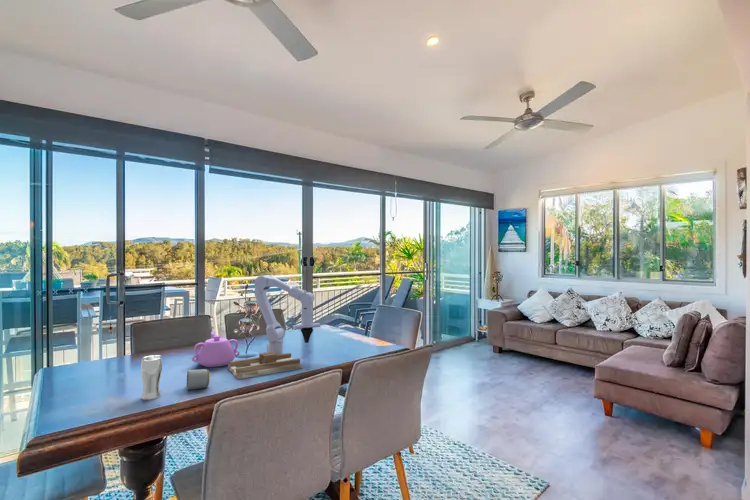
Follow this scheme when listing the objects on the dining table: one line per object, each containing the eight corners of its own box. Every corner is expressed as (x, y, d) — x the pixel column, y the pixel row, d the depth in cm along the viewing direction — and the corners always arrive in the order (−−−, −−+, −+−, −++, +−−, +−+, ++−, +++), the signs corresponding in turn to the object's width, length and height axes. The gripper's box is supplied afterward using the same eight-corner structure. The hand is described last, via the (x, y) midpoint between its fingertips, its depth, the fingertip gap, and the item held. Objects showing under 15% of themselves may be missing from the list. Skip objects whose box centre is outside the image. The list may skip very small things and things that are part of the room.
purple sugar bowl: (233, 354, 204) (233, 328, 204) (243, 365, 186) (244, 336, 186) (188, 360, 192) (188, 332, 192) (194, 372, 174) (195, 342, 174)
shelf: (228, 368, 180) (228, 360, 180) (288, 359, 196) (288, 351, 196) (237, 379, 166) (237, 370, 166) (301, 368, 182) (301, 360, 182)
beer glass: (146, 393, 147) (147, 355, 147) (164, 393, 148) (165, 355, 148) (136, 400, 140) (137, 360, 140) (155, 400, 141) (156, 360, 141)
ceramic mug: (209, 389, 153) (210, 370, 153) (187, 392, 149) (187, 373, 149) (206, 381, 162) (207, 363, 163) (185, 384, 158) (185, 366, 158)
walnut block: (259, 363, 182) (259, 353, 182) (270, 361, 185) (271, 351, 186) (264, 366, 177) (264, 356, 177) (276, 364, 181) (276, 354, 181)
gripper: (296, 318, 188) (296, 345, 188) (323, 316, 196) (322, 342, 196) (291, 316, 193) (290, 342, 193) (317, 314, 202) (316, 339, 202)
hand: (306, 342), depth 195 cm, fingers closed
